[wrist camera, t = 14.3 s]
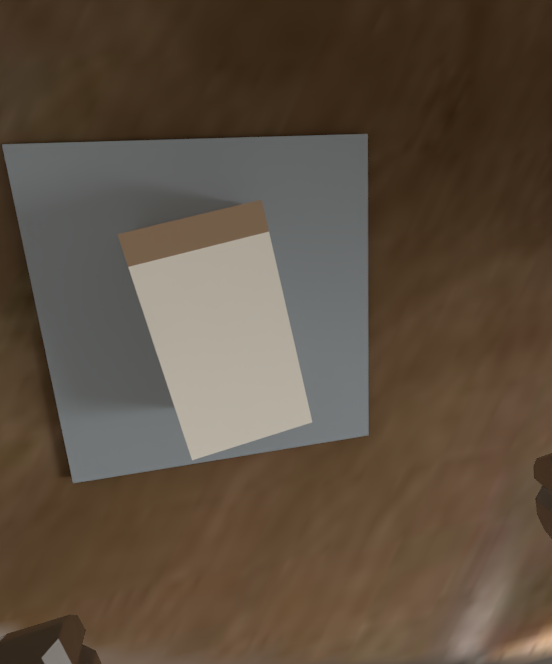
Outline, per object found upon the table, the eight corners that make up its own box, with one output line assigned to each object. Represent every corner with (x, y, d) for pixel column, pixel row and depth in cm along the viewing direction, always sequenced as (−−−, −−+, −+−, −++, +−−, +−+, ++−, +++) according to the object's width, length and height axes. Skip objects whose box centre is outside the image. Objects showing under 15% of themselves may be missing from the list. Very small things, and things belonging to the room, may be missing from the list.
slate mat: (365, 135, 18) (367, 133, 18) (366, 432, 22) (368, 435, 22) (5, 145, 16) (2, 144, 16) (74, 479, 20) (72, 483, 19)
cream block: (284, 379, 20) (242, 203, 18) (312, 422, 16) (261, 199, 14) (189, 407, 20) (133, 230, 17) (191, 460, 15) (117, 234, 13)
